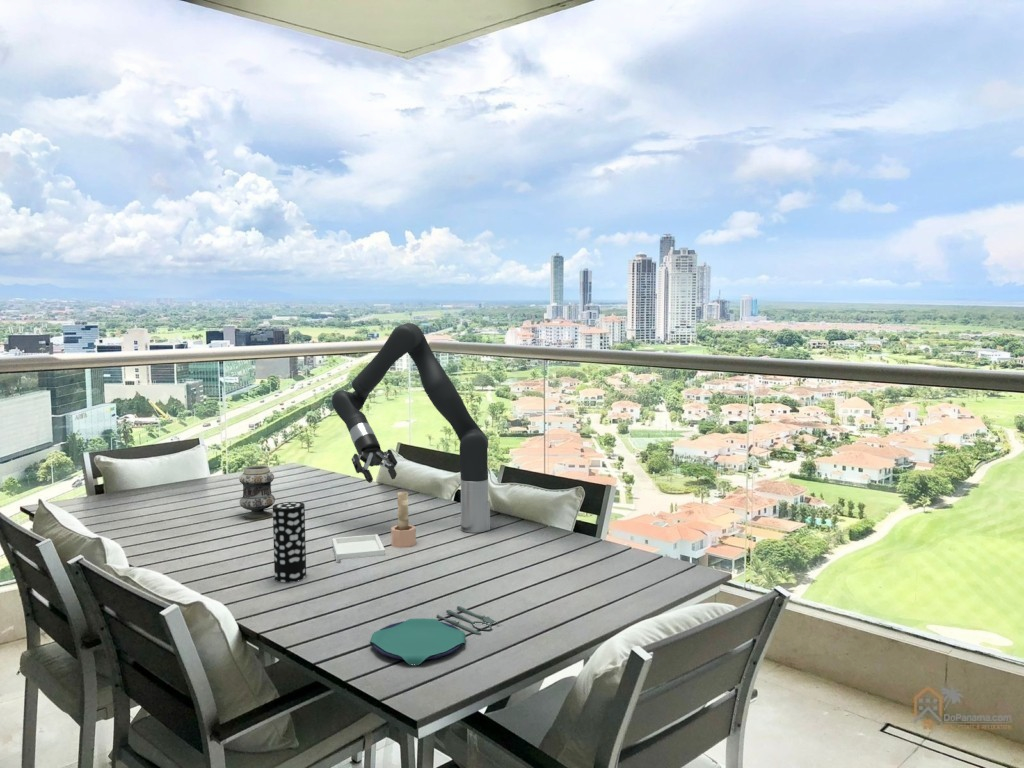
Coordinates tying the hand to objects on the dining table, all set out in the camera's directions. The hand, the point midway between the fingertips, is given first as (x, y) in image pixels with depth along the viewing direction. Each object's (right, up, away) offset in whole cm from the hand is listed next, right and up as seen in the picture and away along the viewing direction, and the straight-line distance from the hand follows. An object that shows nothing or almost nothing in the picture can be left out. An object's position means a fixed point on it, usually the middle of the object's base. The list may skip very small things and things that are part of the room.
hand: (382, 479), depth 237 cm
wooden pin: (+8, -19, -7) cm, 22 cm away
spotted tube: (-19, -22, -35) cm, 46 cm away
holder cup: (+8, -20, -7) cm, 23 cm away
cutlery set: (+25, -26, -73) cm, 81 cm away
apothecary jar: (-50, -17, +29) cm, 60 cm away
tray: (-5, -20, -12) cm, 24 cm away
